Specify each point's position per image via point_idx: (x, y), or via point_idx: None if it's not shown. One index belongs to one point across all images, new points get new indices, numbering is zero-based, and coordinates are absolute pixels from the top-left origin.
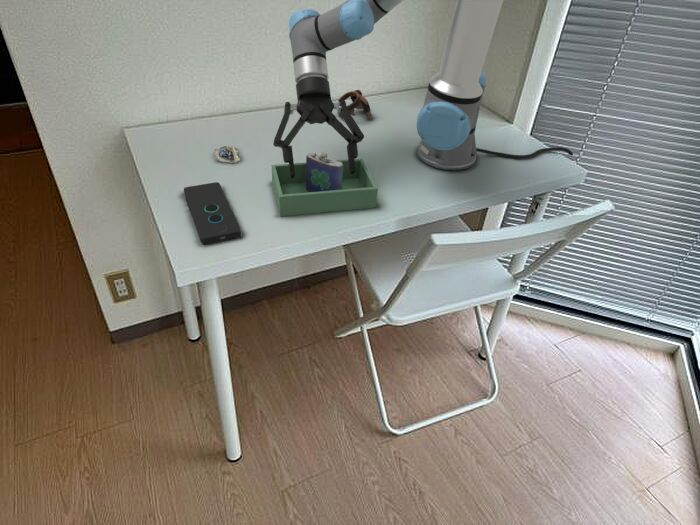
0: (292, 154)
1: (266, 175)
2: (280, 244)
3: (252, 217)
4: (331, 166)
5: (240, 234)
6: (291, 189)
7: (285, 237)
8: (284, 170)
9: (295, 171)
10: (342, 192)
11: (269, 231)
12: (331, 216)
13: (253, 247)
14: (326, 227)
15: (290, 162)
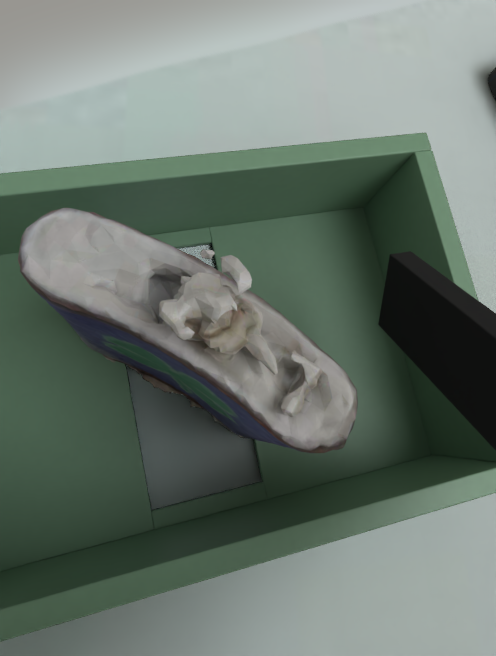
0: (488, 332)
1: (491, 554)
2: (346, 25)
3: (474, 191)
4: (132, 230)
5: (493, 77)
6: None
7: (333, 61)
8: (435, 475)
9: (367, 490)
10: (68, 169)
11: (396, 100)
12: None
13: (432, 21)
14: (169, 108)
15: (465, 292)
